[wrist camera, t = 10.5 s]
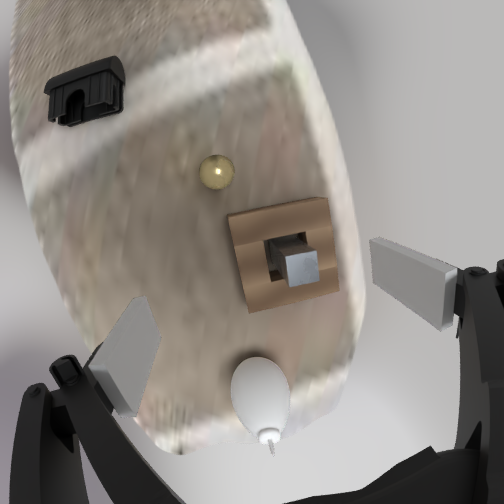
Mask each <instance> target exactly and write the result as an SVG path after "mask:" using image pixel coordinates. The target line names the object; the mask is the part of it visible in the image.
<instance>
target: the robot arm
mask: <svg viewBox="0 0 504 504" xmlns="http://www.w3.org/2000/svg"><path fill="white" fill-rule="evenodd" d="M369 243H370V252H371V263H372V276H373V283H374V284H375V285H377V286H378V287H380V288H381V289H383V290H384V291H385V292H387V293H388V294H390V295H391V296H393V297H394V298H395V299H397V300H398V301H400V302H401V303H402V304H404V305H405V306H406V307H408V308H409V309H411V310H412V311H413V312H415V313H416V314H418V315H419V316H420V317H422V318H423V319H425V320H426V321H427V322H429V323H430V324H431V325H432V326H434V327H435V328H436V329H438V330H439V331H443V330H445V329H447V328H448V327H450V326H452V324H453V316H454V313H455V314H456V315H458V316H459V323H458V328H457V335H456V338H458V337H459V342H460V406H459V419H458V430H457V437H456V443H455V447H454V449H452V450H446V451H442V452H438V453H436V452H435V451H434V450H433V448H432V447H431V446H429V447H427V448H426V449H424V450H422V451H420V452H419V453H417V454H415V455H413V456H411V457H409V458H408V459H406V460H404V461H402V462H400V463H398V464H396V465H395V466H394V467H393V468H391V469H390V470H388V471H387V472H386V473H384V474H383V475H382V476H380V477H379V478H378V479H376V480H375V481H373V482H372V483H370V484H369V485H367V486H366V487H364V488H363V489H360V490H357V491H352V492H345V493H338V494H330V495H321V496H312V497H308V498H305V499H301V500H297V501H293V502H289V503H284V504H504V259H503V260H500V261H498V262H497V269H496V272H493V273H489V272H488V271H487V270H486V269H485V268H481V267H469V268H466V269H465V270H461V269H459V268H457V267H454V266H452V265H449V264H447V263H444V262H443V261H440V260H438V259H435V258H432V257H430V256H427V255H425V254H422V253H420V252H417V251H415V250H412V249H410V248H407V247H405V246H402V245H399V244H397V243H394V242H392V241H389V240H387V239H384V238H381V237H378V238H374V239H370V240H369ZM161 338H162V337H161V335H160V332H159V330H158V327H157V325H156V322H155V320H154V317H153V315H152V312H151V309H150V307H149V304H148V301H147V298H146V296H141V297H137V298H133V300H132V301H131V303H130V304H129V305H128V307H127V308H126V310H125V311H124V313H123V314H122V315H121V317H120V318H119V320H118V321H117V323H116V324H115V326H114V327H113V329H112V330H111V332H110V333H109V335H108V336H107V338H106V339H105V341H104V342H102V343H101V344H100V345H99V346H98V347H97V348H96V349H95V350H94V352H93V353H92V355H91V356H90V358H89V360H88V361H87V362H86V364H85V366H84V367H83V369H82V367H81V366H80V363H79V362H78V360H77V358H76V357H75V356H74V355H66V356H63V357H60V358H59V359H57V360H56V361H54V362H53V363H52V364H51V366H50V368H49V371H50V373H51V374H52V376H53V378H54V379H55V381H56V383H57V384H58V386H59V387H60V389H58V390H54V391H51V392H50V391H49V390H48V388H47V387H46V385H45V384H44V383H38V384H34V385H31V386H30V387H28V388H27V390H26V391H25V393H24V395H23V398H22V402H21V407H20V412H19V416H18V421H17V427H16V433H15V438H14V446H13V453H12V461H11V473H10V493H9V494H10V497H9V504H89V500H88V496H87V491H86V486H85V481H84V475H83V469H82V462H81V456H80V446H79V440H80V442H81V444H82V446H83V448H84V450H85V453H86V455H87V457H88V459H89V461H90V463H91V465H92V467H93V469H94V470H95V472H96V474H97V476H98V478H99V480H100V481H101V483H102V485H103V487H104V488H105V490H106V492H107V493H108V495H109V497H110V498H111V500H112V501H113V503H114V504H186V503H185V502H184V501H183V500H182V499H181V498H180V497H179V496H178V495H177V494H176V493H175V492H174V491H173V490H172V489H171V488H170V487H169V486H168V485H167V484H166V483H165V482H164V481H163V480H162V478H161V477H160V476H159V475H158V474H157V473H156V472H155V471H154V470H153V468H152V467H151V466H150V465H149V464H148V462H147V461H146V460H145V459H144V458H143V456H142V455H141V454H140V453H139V451H138V450H137V449H136V448H135V446H134V445H133V444H132V443H131V441H130V440H129V438H128V437H127V436H126V434H125V433H124V432H123V431H122V429H121V427H120V426H119V425H118V423H117V422H116V420H115V419H114V417H113V416H112V415H111V414H112V412H113V409H115V410H116V412H117V413H118V415H119V416H120V417H121V418H122V417H123V418H125V417H136V416H137V413H138V409H139V406H140V403H141V399H142V396H143V393H144V390H145V386H146V383H147V380H148V377H149V374H150V371H151V368H152V364H153V361H154V358H155V355H156V352H157V349H158V346H159V344H160V341H161Z"/></svg>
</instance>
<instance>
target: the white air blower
mask: <svg viewBox="0 0 504 504" xmlns="http://www.w3.org/2000/svg"><path fill="white" fill-rule="evenodd" d="M231 399H232V404H233V407H234V410H235V412H236V414H237V416H238V418H239V420H240V422H241V423H242V424H243V426H244V427H245V428H246V429H247V430H248V431H249V432H250V433H251V434H252V435H253V436H255V437H256V438H258V441H259V442H260V443H262V444H265V445H266V444H267V445H269V447H270V450H271V453H272V455H273V456H274V446H273V444H274V443H276V442H278V441H279V440H280V438H281V432H282V431H283V429H284V427H285V425H286V423H287V420H288V416H289V411H290V390H289V386H288V382H287V379H286V377H285V375H284V373H283V372H282V370H281V369H280V368H279V367H278V366H277V365H276V364H275V363H274V362H272V361H271V360H269V359H266V358H262V357H252V358H248V359H246V360H244V361H243V362H241V363H240V364H239V365H238V367H237V368H236V370H235V372H234V374H233V377H232V381H231Z"/></svg>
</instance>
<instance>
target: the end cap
mask: <svg viewBox="0 0 504 504" xmlns="http://www.w3.org/2000/svg"><path fill="white" fill-rule="evenodd" d="M124 84H125V76H124V70H123V66H122V63H121V61H120V59H119V58H118V57H117V56H111V57H108V58H104V59H101V60H98V61H95V62H92V63H89V64H86V65H83V66H80V67H78V68H75V69H72V70H70V71H67V72H65V73H62V74H60V75H57V76H55V77H53V78H51V79H49V80H48V82H47V83H46V85H45V89H44V93H45V94H47V95H49V96H50V98H49V112H48V121H50V122H53V123H54V122H56V118H57V117H58V124H59V125H61V126H69V127H72V126H75V125H78V124H81V123H85V122H88V121H91V120H95V119H98V118H102V117H106V116H110V115H113V114H117V113H120V112H122V111H123V85H124Z"/></svg>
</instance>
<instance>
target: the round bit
mask: <svg viewBox="0 0 504 504" xmlns="http://www.w3.org/2000/svg"><path fill="white" fill-rule="evenodd" d="M234 173H235V170H234V166H233V164H232V162H231V161H230V160H229V159H228V158H227V157H225V156H222V155H212V156H210V157H208V158H206V159H205V160H204V161H203V162H202V164H201V166H200V170H199V175H200V179H201V181H202V182H203V184H204V185H205V186H207V187H208V188H211V189H222V188H225V187H226V186H228V185H229V184H230V183H231V182H232V180H233V178H234Z"/></svg>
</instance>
